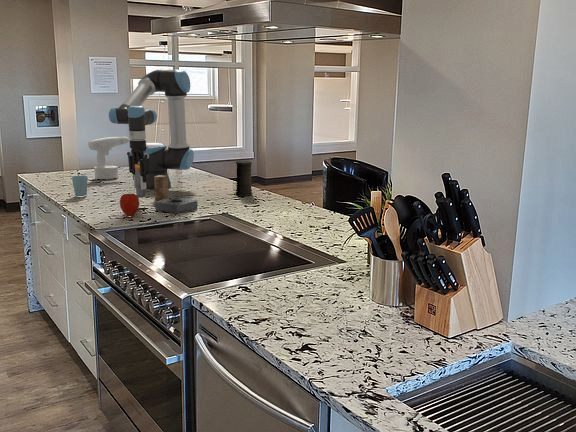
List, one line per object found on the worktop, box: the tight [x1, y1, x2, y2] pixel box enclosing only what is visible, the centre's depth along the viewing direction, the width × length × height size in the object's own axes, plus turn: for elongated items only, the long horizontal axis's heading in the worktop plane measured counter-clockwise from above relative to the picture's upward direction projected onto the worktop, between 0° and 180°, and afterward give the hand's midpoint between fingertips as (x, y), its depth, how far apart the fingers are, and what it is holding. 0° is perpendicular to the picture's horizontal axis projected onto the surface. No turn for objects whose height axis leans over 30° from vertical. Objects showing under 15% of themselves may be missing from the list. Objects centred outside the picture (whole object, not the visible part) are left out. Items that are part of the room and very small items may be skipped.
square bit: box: [154, 175, 170, 201], centre depth 291 cm, size 5×5×12 cm
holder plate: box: [154, 196, 199, 215], centre depth 271 cm, size 14×14×4 cm
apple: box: [119, 193, 140, 217], centre depth 254 cm, size 9×8×11 cm
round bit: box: [135, 163, 146, 198], centre depth 273 cm, size 4×4×16 cm
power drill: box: [87, 136, 130, 180], centre depth 345 cm, size 8×24×25 cm, turn 122°
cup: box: [71, 175, 89, 197], centre depth 294 cm, size 8×8×10 cm
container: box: [235, 160, 253, 197], centre depth 305 cm, size 9×9×18 cm
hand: (140, 188), depth 274 cm, fingers closed on round bit, 4 cm apart
